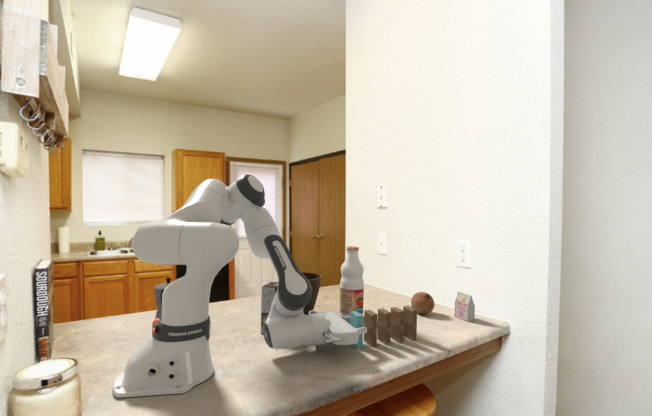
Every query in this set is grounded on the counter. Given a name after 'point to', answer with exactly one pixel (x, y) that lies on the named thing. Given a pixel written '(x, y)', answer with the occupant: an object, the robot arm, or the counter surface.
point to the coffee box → (267, 300)
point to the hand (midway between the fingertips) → (359, 324)
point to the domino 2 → (384, 326)
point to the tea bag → (464, 307)
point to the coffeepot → (160, 297)
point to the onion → (422, 303)
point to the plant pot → (315, 284)
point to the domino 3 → (397, 324)
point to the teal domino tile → (357, 326)
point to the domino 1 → (370, 327)
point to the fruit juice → (351, 284)
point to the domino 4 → (410, 323)
